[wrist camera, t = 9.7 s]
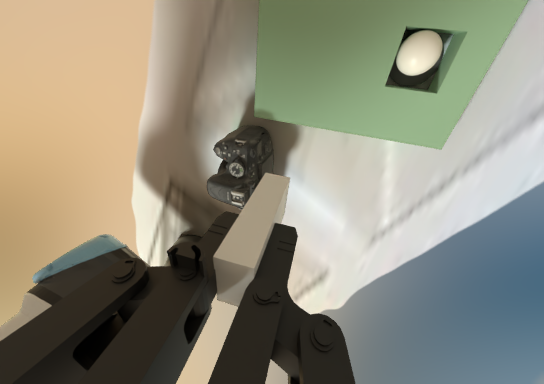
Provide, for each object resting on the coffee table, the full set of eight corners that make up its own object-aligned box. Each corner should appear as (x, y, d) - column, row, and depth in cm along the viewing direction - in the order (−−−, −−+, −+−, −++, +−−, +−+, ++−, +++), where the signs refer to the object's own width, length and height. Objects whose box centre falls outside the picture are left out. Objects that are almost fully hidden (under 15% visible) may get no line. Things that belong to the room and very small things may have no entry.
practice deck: (260, 112, 32) (254, 116, 30) (270, -53, 22) (262, -67, 20) (432, 141, 28) (441, 149, 26) (534, -45, 18) (563, -60, 16)
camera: (215, 133, 36) (179, 156, 28) (267, 117, 32) (242, 137, 24) (244, 197, 42) (221, 231, 34) (292, 190, 38) (278, 226, 30)
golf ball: (412, 75, 25) (382, 71, 25) (429, 34, 23) (397, 28, 22) (438, 79, 22) (405, 74, 21) (461, 31, 20) (425, 25, 19)
